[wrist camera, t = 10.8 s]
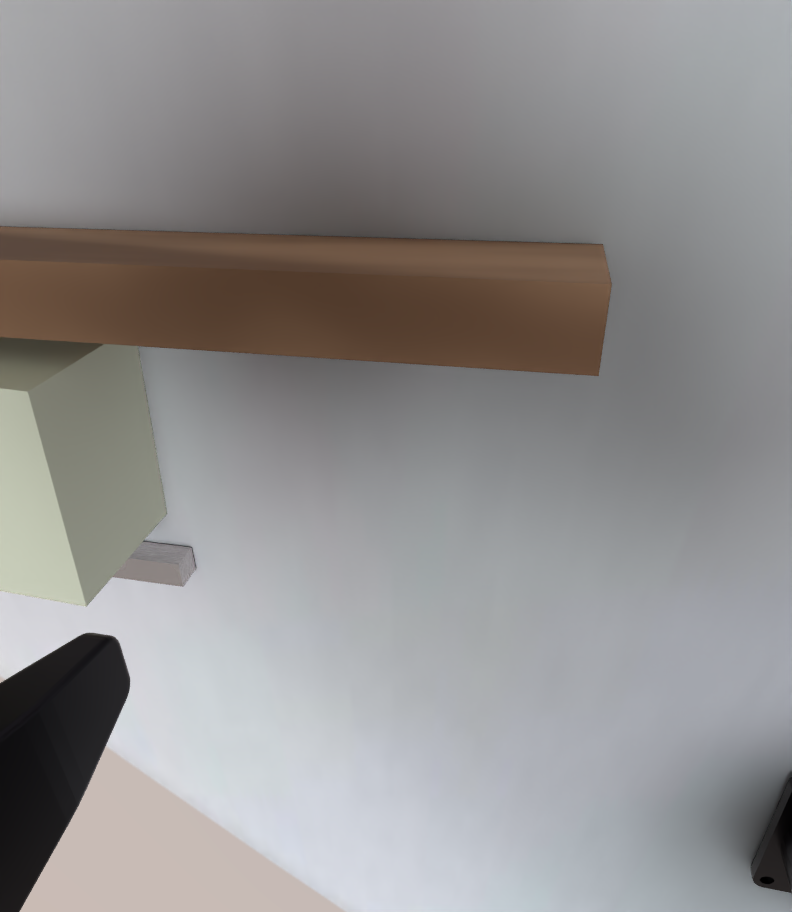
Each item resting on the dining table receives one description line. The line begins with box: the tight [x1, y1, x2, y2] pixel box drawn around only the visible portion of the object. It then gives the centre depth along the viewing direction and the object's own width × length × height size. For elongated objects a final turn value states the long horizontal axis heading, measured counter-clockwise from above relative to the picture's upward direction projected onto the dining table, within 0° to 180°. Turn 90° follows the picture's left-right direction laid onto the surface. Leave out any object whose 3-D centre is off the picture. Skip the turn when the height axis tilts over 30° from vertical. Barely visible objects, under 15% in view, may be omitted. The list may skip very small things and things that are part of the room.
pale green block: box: [0, 337, 167, 607], centre depth 21 cm, size 8×5×5 cm, turn 178°
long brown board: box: [0, 226, 612, 376], centre depth 18 cm, size 2×24×4 cm, turn 91°
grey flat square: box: [113, 542, 196, 587], centre depth 23 cm, size 10×10×1 cm
